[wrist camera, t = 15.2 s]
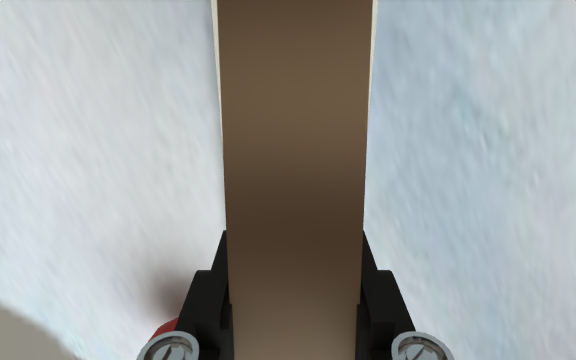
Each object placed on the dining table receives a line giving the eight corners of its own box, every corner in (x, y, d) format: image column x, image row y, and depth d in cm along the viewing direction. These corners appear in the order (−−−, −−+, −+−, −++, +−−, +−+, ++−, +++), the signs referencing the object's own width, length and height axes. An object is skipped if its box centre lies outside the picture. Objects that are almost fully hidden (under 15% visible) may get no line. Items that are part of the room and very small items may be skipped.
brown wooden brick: (379, 407, 15) (421, 557, 10) (207, 407, 15) (167, 556, 10) (410, -132, 11) (509, -322, 6) (175, -130, 11) (82, -315, 6)
